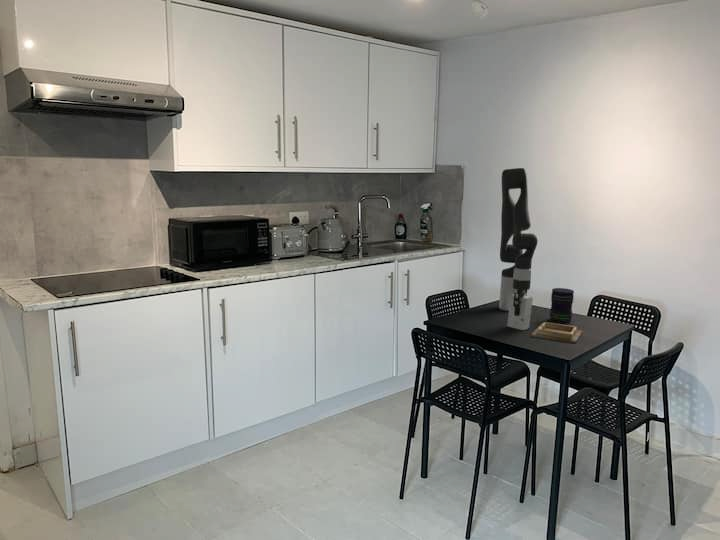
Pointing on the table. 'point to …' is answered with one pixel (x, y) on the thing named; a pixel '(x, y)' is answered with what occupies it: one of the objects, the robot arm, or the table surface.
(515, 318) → the skincare box
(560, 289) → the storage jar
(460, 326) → the table surface
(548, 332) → the plate
